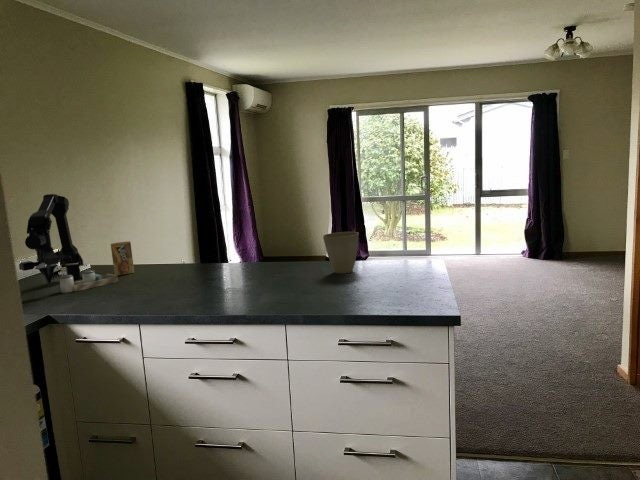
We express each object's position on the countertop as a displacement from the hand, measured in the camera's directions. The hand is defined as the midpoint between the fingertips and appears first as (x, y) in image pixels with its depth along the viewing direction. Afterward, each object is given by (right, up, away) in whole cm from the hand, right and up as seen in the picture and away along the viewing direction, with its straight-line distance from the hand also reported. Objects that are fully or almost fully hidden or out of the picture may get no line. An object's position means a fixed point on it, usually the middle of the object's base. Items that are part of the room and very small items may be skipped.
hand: (49, 282), depth 215 cm
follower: (+14, -2, +15) cm, 20 cm away
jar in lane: (+11, -3, +13) cm, 17 cm away
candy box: (+18, +1, +36) cm, 40 cm away
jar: (+5, -4, +6) cm, 9 cm away
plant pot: (+122, +4, +4) cm, 122 cm away
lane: (+12, -2, +13) cm, 18 cm away
